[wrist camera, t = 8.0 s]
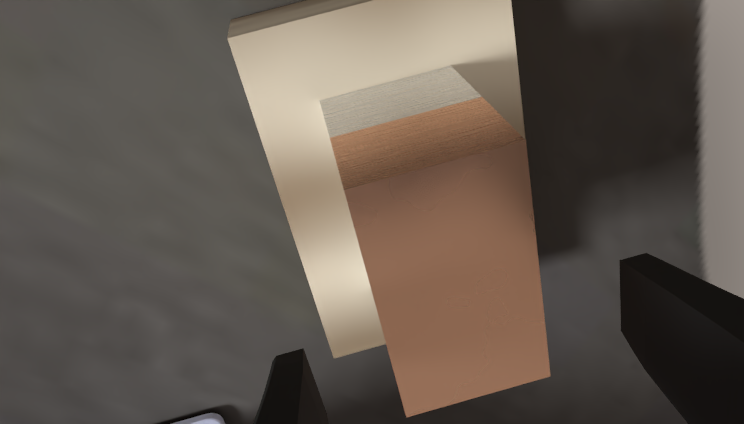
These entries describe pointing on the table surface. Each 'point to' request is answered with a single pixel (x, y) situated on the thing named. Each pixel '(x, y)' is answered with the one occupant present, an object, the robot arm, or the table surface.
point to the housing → (443, 235)
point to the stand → (343, 75)
